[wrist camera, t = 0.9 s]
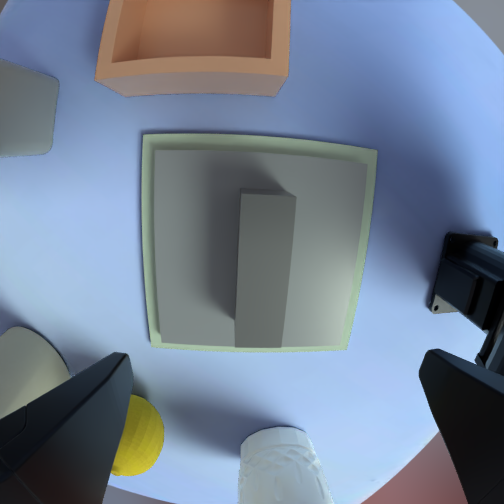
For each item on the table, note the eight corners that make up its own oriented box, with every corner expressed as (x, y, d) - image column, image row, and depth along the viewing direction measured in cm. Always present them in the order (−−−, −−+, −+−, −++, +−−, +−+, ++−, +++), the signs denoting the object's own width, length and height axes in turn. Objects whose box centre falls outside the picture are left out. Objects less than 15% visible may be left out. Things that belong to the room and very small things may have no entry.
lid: (362, 163, 17) (392, 165, 13) (336, 339, 20) (353, 371, 17) (158, 150, 16) (138, 148, 12) (163, 336, 20) (151, 370, 16)
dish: (280, -20, 13) (291, -57, 9) (275, 96, 16) (288, 76, 12) (144, -18, 13) (126, -52, 8) (125, 97, 15) (94, 80, 11)
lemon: (96, 377, 21) (61, 447, 13) (154, 370, 21) (128, 451, 13) (126, 422, 23) (105, 490, 15) (181, 417, 22) (169, 494, 15)
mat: (374, 150, 17) (377, 150, 17) (344, 346, 21) (346, 349, 21) (145, 135, 16) (143, 134, 16) (152, 343, 20) (151, 347, 20)
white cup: (218, 437, 23) (217, 531, 14) (301, 410, 23) (326, 508, 13) (255, 473, 26) (262, 551, 16) (325, 450, 25) (349, 529, 16)
